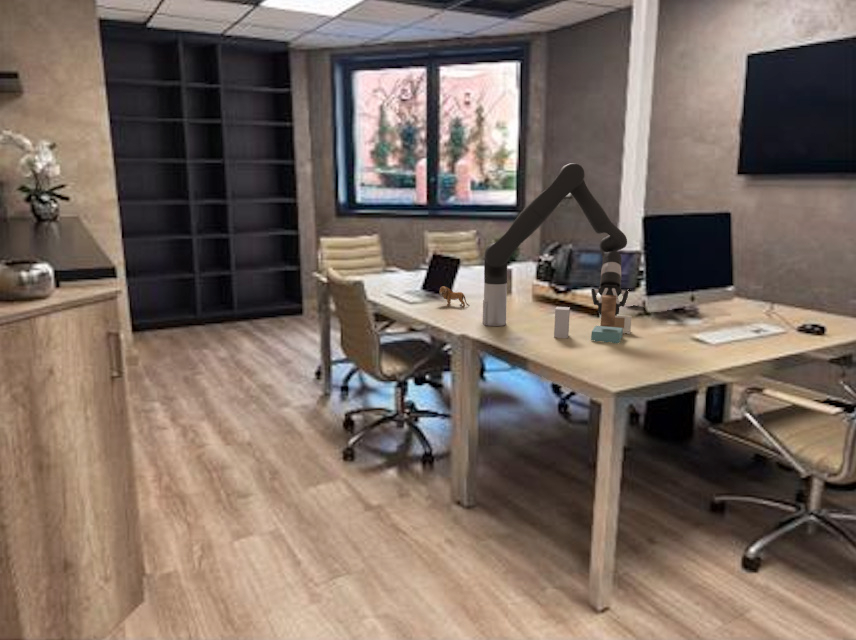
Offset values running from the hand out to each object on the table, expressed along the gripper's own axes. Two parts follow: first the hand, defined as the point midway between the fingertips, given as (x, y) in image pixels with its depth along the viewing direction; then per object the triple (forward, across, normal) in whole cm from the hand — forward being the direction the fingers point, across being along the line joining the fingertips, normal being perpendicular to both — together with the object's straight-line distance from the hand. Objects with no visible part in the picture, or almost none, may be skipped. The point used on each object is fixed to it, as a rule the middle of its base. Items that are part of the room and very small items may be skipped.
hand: (608, 313), depth 238 cm
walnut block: (+2, 0, +5) cm, 5 cm away
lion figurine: (-25, -70, +40) cm, 85 cm away
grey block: (+6, -17, +8) cm, 20 cm away
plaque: (-3, +4, +17) cm, 18 cm away
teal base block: (+6, 0, +9) cm, 11 cm away
